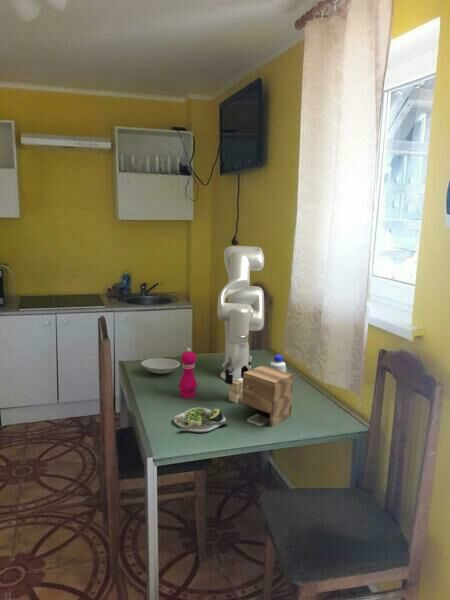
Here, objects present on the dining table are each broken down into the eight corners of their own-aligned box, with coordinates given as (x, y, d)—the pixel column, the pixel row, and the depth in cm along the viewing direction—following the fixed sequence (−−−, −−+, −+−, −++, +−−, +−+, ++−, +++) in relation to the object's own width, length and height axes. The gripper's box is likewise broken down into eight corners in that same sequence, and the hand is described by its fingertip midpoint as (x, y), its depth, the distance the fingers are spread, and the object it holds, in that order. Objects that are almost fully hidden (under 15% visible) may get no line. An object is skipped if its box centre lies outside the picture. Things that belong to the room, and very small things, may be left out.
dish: (181, 369, 234) (181, 359, 233) (177, 380, 219) (178, 369, 218) (144, 367, 234) (144, 357, 233) (137, 378, 220) (137, 367, 219)
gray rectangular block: (256, 417, 186) (256, 413, 186) (270, 422, 182) (270, 418, 182) (246, 422, 182) (247, 418, 181) (260, 427, 178) (260, 424, 178)
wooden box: (260, 405, 196) (262, 365, 193) (290, 416, 187) (293, 374, 184) (239, 415, 186) (241, 373, 183) (269, 427, 177) (272, 383, 174)
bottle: (285, 401, 201) (288, 353, 197) (281, 407, 194) (285, 358, 190) (269, 398, 203) (272, 351, 199) (265, 405, 197) (268, 356, 193)
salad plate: (197, 442, 165) (197, 429, 164) (160, 425, 177) (161, 413, 176) (234, 424, 180) (235, 412, 179) (199, 409, 191) (199, 398, 190)
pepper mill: (194, 399, 199) (195, 351, 195) (176, 397, 200) (177, 349, 196) (198, 393, 206) (200, 346, 202) (181, 391, 207) (182, 344, 203)
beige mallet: (235, 397, 203) (235, 378, 201) (282, 414, 188) (284, 394, 187) (228, 400, 200) (229, 381, 198) (276, 418, 185) (278, 397, 184)
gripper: (244, 333, 204) (242, 374, 206) (216, 340, 190) (215, 383, 193) (259, 337, 199) (257, 378, 202) (231, 344, 186) (230, 388, 188)
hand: (236, 380), depth 197 cm, fingers open, 9 cm apart
